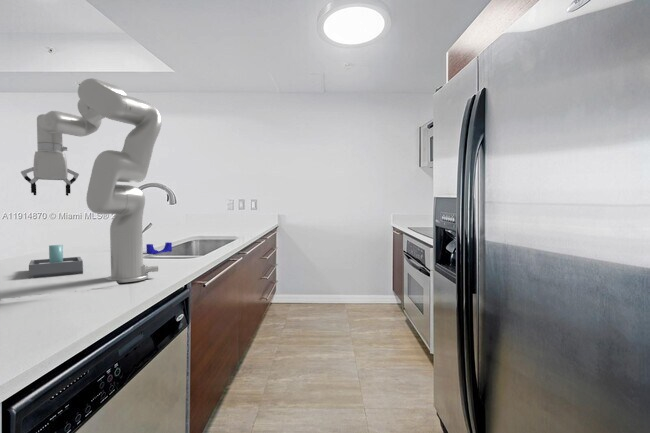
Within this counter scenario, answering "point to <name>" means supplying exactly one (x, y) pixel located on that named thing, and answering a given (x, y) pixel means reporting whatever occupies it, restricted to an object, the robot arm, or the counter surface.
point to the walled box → (55, 267)
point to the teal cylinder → (55, 253)
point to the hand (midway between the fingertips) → (51, 195)
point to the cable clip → (151, 250)
